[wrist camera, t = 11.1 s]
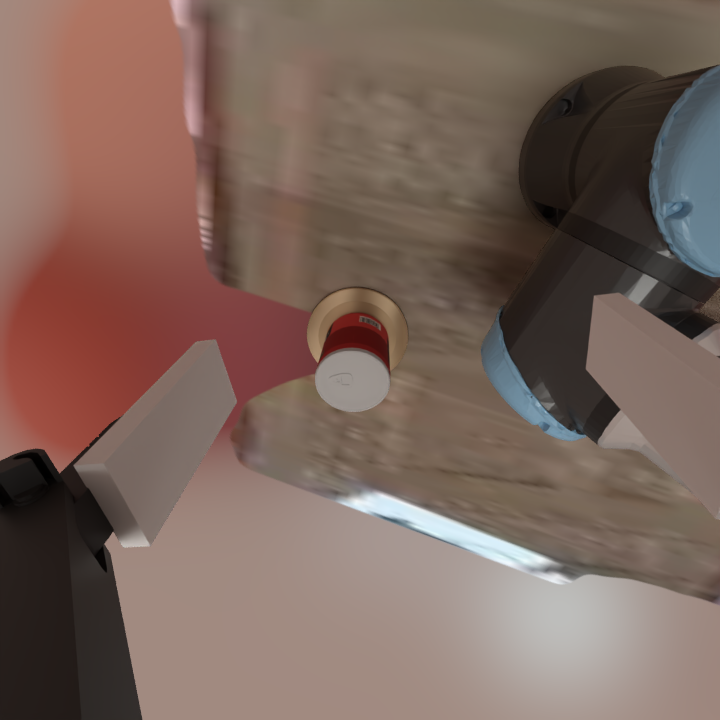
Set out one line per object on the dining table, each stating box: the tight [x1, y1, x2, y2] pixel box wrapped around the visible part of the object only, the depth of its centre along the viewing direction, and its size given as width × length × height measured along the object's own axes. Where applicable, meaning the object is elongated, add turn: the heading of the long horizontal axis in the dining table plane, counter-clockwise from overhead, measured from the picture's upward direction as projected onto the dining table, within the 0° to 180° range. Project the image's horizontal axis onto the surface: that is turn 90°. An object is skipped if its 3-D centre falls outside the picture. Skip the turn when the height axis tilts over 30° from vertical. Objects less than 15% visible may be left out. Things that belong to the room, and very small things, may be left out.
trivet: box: [307, 287, 408, 371], centre depth 53 cm, size 13×13×1 cm
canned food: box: [315, 313, 390, 412], centre depth 48 cm, size 8×8×11 cm
